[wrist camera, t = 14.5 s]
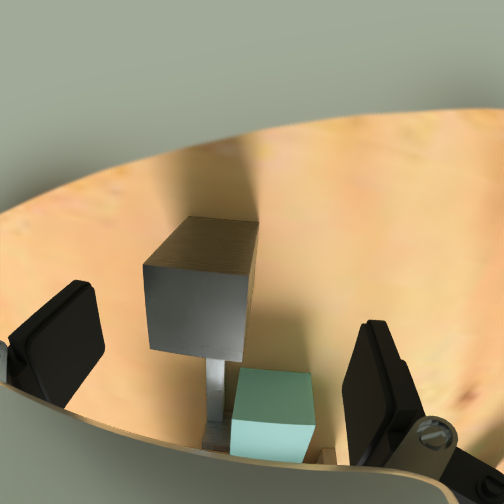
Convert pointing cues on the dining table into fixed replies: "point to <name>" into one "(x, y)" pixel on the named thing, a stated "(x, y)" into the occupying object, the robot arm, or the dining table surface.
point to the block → (272, 415)
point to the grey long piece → (204, 304)
